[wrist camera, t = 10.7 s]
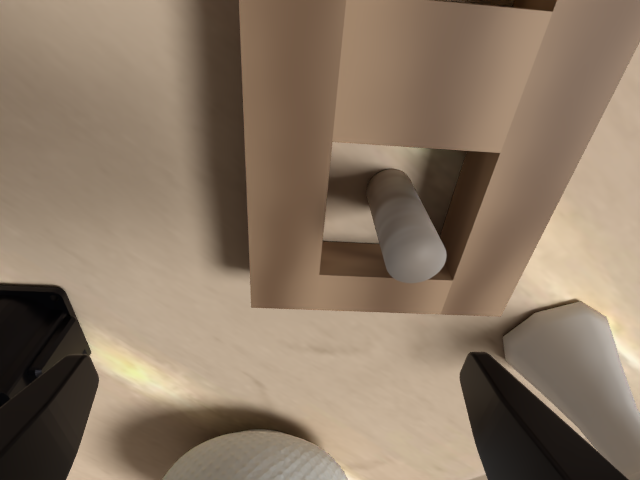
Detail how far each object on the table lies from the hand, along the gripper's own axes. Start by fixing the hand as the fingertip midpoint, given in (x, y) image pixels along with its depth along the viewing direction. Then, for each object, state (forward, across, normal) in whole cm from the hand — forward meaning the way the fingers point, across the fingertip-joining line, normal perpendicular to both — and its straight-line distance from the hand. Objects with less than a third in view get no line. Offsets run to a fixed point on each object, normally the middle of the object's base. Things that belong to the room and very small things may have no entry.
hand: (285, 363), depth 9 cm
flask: (+12, -19, +12) cm, 25 cm away
